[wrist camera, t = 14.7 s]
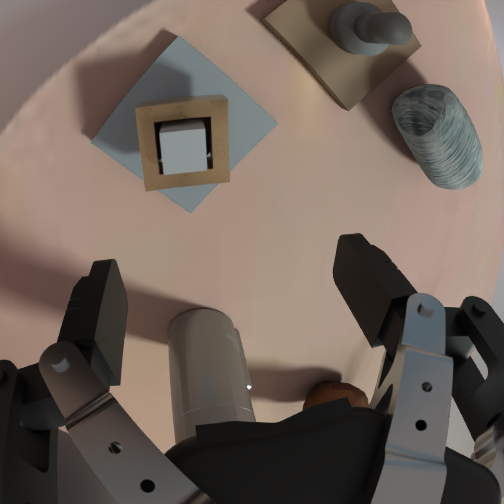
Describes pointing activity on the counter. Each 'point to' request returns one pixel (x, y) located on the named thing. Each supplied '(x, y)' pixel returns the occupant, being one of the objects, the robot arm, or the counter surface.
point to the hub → (183, 120)
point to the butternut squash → (335, 394)
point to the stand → (345, 42)
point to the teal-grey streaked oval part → (439, 135)
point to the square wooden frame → (183, 109)
